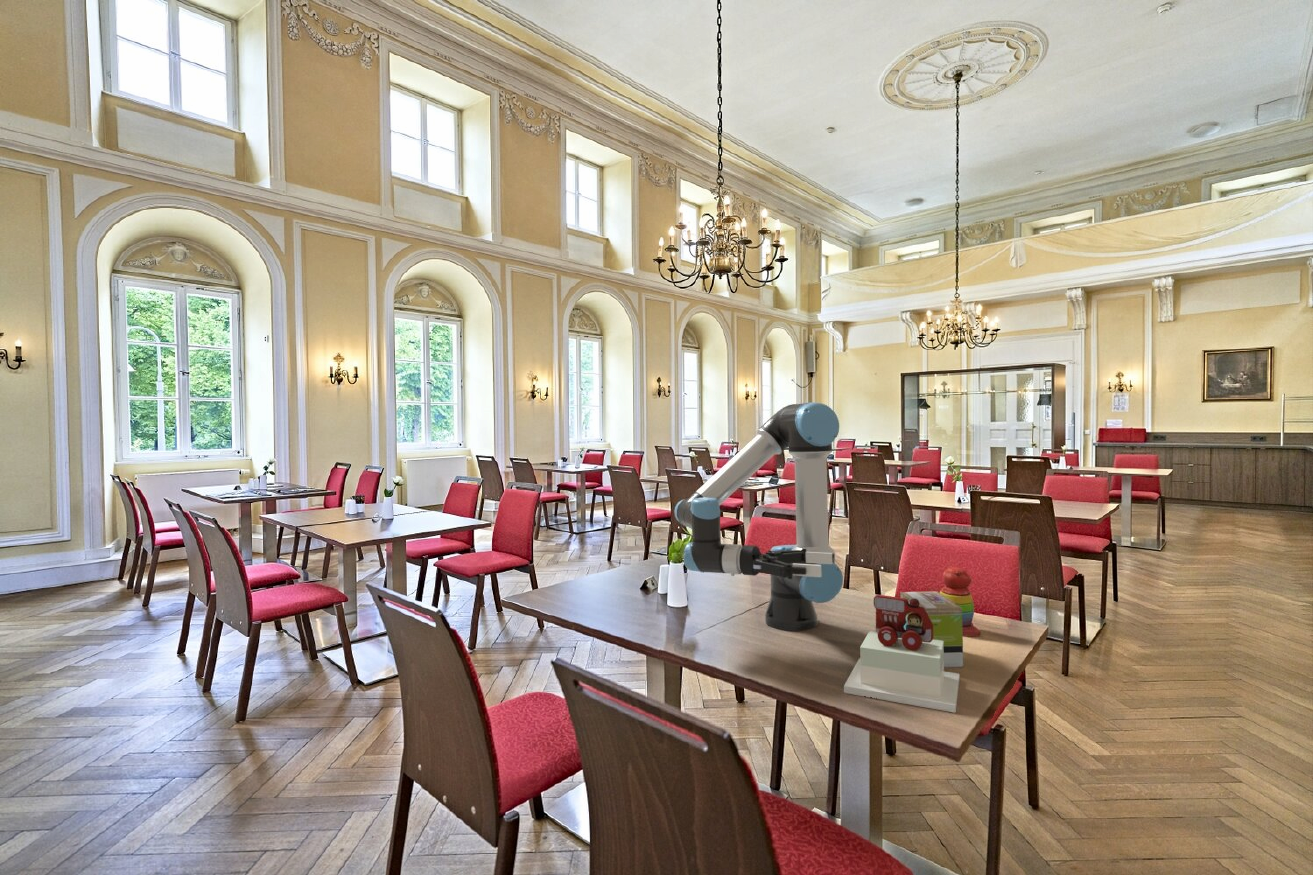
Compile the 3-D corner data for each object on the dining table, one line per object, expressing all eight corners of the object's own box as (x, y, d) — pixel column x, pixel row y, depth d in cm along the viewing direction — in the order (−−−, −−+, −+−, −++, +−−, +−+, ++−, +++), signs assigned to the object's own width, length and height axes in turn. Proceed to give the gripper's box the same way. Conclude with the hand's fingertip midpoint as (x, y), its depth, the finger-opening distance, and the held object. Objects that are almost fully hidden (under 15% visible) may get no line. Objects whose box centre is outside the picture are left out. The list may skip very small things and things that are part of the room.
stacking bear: (982, 637, 170) (981, 572, 169) (942, 635, 172) (942, 571, 171) (971, 624, 180) (970, 563, 180) (933, 623, 182) (932, 562, 182)
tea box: (899, 646, 164) (898, 590, 164) (938, 646, 164) (937, 590, 163) (922, 668, 149) (921, 606, 149) (964, 668, 149) (964, 606, 148)
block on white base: (844, 692, 136) (843, 649, 136) (859, 664, 152) (858, 625, 152) (955, 712, 126) (955, 665, 125) (959, 680, 141) (958, 638, 141)
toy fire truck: (930, 653, 132) (929, 605, 132) (870, 643, 139) (869, 597, 139) (935, 644, 138) (935, 597, 138) (877, 634, 145) (877, 590, 145)
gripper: (757, 563, 171) (836, 568, 162) (726, 586, 149) (816, 593, 139) (756, 536, 171) (835, 539, 162) (725, 555, 149) (815, 560, 139)
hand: (827, 564), depth 151 cm, fingers open, 13 cm apart
